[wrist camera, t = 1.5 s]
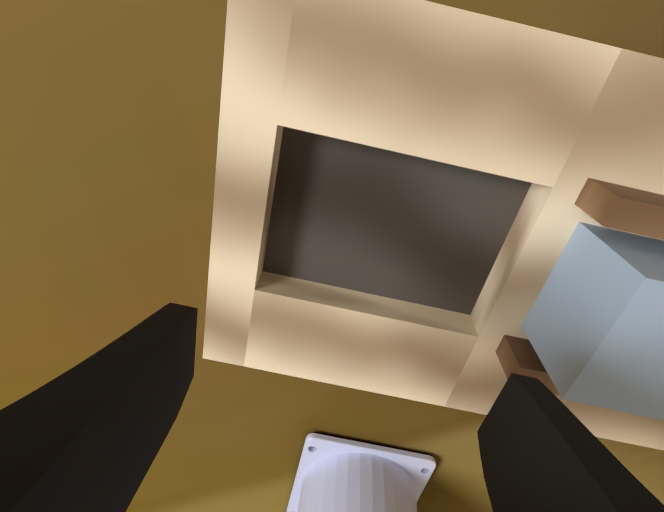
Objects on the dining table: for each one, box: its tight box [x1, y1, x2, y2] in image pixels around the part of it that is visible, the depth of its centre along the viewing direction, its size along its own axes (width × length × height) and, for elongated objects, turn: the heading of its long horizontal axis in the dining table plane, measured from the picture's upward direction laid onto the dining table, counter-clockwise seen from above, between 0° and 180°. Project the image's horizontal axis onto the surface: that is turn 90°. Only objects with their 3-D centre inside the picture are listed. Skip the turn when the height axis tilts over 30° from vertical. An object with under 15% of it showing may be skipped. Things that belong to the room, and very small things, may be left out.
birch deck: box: [203, 0, 664, 450], centre depth 17 cm, size 16×36×2 cm, turn 78°
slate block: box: [522, 222, 664, 420], centre depth 14 cm, size 5×6×4 cm
